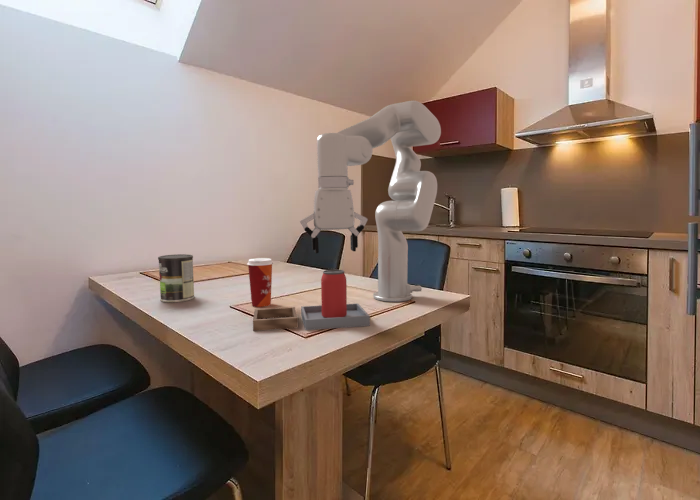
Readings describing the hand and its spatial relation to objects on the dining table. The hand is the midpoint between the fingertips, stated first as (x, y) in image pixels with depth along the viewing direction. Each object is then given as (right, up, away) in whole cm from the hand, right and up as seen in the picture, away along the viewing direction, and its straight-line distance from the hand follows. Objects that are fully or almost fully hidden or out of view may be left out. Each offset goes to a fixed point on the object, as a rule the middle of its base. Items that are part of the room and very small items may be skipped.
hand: (335, 251), depth 97 cm
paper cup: (-23, -17, +18) cm, 34 cm away
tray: (0, -18, +1) cm, 18 cm away
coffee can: (-53, -16, +26) cm, 61 cm away
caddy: (-15, -18, -1) cm, 24 cm away
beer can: (0, -17, +1) cm, 17 cm away
